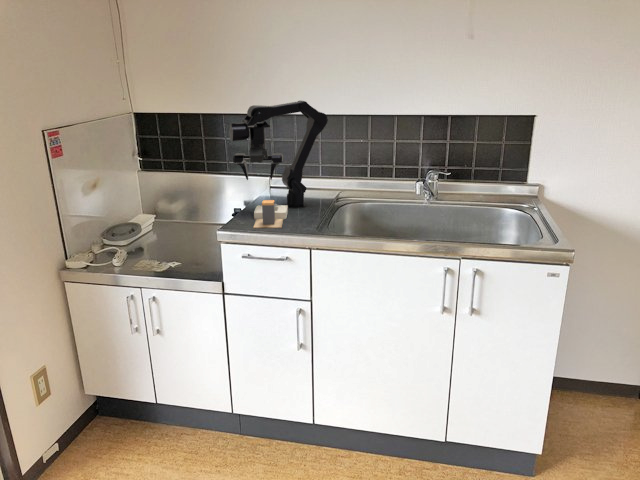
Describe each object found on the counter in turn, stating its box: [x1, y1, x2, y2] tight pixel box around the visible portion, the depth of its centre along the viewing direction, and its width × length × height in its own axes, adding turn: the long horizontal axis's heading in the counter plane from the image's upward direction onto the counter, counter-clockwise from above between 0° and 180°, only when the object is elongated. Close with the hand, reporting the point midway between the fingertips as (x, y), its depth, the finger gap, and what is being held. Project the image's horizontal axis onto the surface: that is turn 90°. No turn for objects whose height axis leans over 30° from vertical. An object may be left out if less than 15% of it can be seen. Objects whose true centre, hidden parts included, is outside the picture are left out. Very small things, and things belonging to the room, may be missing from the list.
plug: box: [261, 199, 275, 225], centre depth 195 cm, size 4×4×8 cm
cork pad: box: [252, 219, 284, 229], centre depth 196 cm, size 10×10×1 cm
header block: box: [253, 203, 289, 220], centre depth 206 cm, size 12×10×3 cm
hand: (259, 179), depth 210 cm, fingers open, 9 cm apart
